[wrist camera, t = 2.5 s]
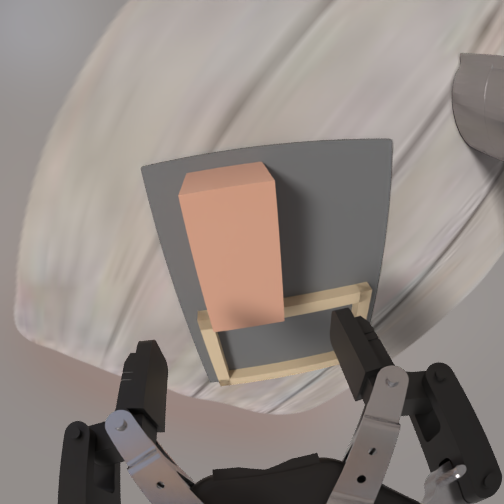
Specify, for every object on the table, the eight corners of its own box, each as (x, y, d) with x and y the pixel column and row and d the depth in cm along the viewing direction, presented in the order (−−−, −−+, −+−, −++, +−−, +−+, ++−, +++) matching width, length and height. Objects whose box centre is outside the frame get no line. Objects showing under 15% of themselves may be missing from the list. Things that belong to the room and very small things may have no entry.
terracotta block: (186, 173, 18) (178, 195, 14) (261, 161, 18) (274, 180, 14) (212, 292, 23) (213, 332, 19) (273, 283, 23) (284, 321, 20)
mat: (142, 166, 18) (136, 172, 16) (389, 138, 18) (401, 142, 17) (210, 379, 30) (210, 390, 29) (360, 350, 31) (365, 360, 30)
